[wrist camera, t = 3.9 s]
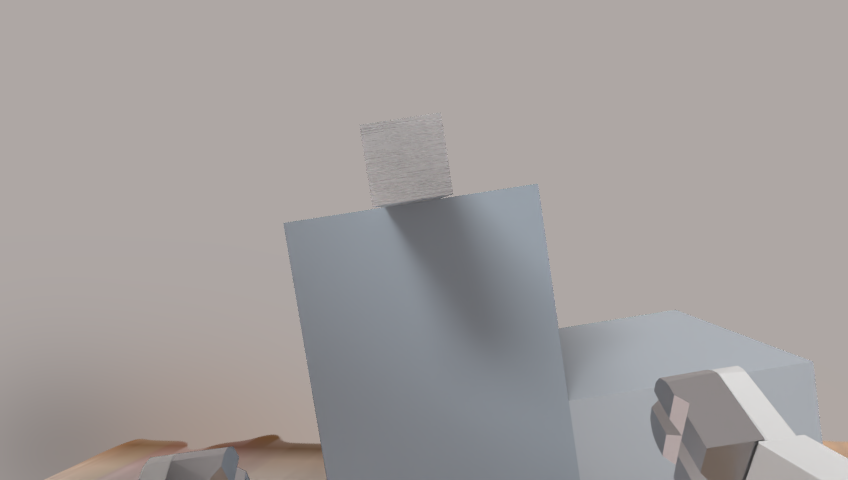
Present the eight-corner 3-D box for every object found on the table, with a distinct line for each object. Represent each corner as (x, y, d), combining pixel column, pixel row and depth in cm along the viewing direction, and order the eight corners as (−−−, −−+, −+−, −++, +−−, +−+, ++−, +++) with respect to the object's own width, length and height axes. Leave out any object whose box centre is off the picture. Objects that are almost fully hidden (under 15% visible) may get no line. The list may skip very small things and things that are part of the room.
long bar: (384, 209, 37) (376, 156, 37) (436, 201, 37) (428, 148, 37) (356, 208, 17) (338, 94, 17) (469, 191, 17) (451, 77, 17)
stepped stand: (848, 664, 28) (787, 145, 27) (372, 746, 28) (283, 223, 26) (702, 512, 42) (657, 167, 41) (384, 565, 42) (327, 218, 40)
